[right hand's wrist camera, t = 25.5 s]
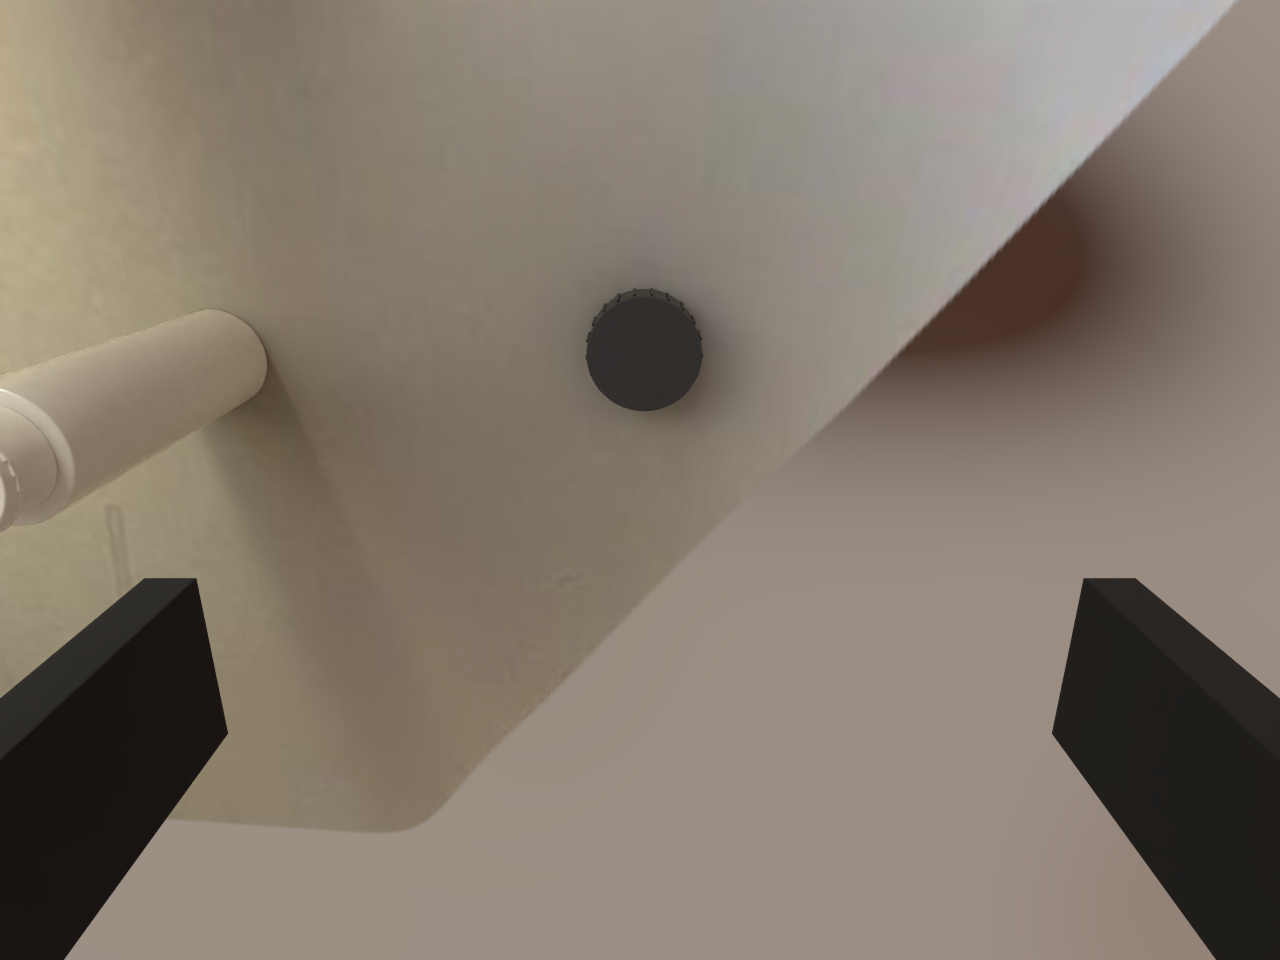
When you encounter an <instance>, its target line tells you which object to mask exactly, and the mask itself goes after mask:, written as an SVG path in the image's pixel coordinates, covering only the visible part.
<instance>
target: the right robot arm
mask: <svg viewBox="0 0 1280 960" xmlns="http://www.w3.org/2000/svg"><path fill="white" fill-rule="evenodd" d="M227 734H228V731H227V726H226V721H225V716H224V711H223V707H222V702H221V697H220V692H219V687H218V682H217V677H216V672H215V667H214V662H213V658H212V653H211V648H210V643H209V638H208V633H207V628H206V623H205V618H204V614H203V609H202V604H201V599H200V594H199V589H198V584H197V579H196V578H144V579H143V580H142V581H141V582H140V583H138V584H137V585H136V586H135V587H134V588H132V589H131V590H130V591H129V592H128V593H126V594H125V595H124V596H123V597H122V598H120V599H119V600H118V601H117V602H116V603H114V604H113V605H112V606H111V607H110V608H108V609H107V610H106V611H105V612H104V613H102V614H101V615H100V616H99V617H98V618H96V619H95V620H94V621H93V622H91V623H90V624H89V625H88V626H87V627H85V628H84V629H83V630H82V631H81V632H79V633H78V634H77V635H76V636H75V637H73V638H72V639H71V640H70V641H69V642H67V643H66V644H65V645H64V646H63V647H61V648H60V649H59V650H58V651H57V652H55V653H54V654H53V655H52V656H51V657H49V658H48V659H47V660H46V661H45V662H43V663H42V664H41V665H40V666H39V667H37V668H36V669H35V670H34V671H33V672H31V673H30V674H29V675H28V676H27V677H25V678H24V679H23V680H22V681H21V682H19V683H18V684H17V685H16V686H15V687H13V688H12V689H11V690H10V691H9V692H7V693H6V694H5V695H4V696H3V697H1V698H0V960H64V959H65V957H66V956H67V955H68V953H69V952H70V951H71V949H72V948H73V946H74V945H75V944H76V942H77V941H78V940H79V938H80V937H81V935H82V934H83V933H84V931H85V930H86V928H87V927H88V926H89V924H90V923H91V922H92V920H93V919H94V917H95V916H96V915H97V913H98V912H99V911H100V909H101V908H102V906H103V905H104V904H105V902H106V901H107V900H108V898H109V897H110V895H111V894H112V893H113V891H114V890H115V889H116V887H117V886H118V884H119V883H120V882H121V880H122V879H123V878H124V876H125V875H126V873H127V872H128V871H129V869H130V868H131V867H132V865H133V864H134V862H135V861H136V860H137V858H138V857H139V856H140V854H141V853H142V851H143V850H144V849H145V847H146V846H147V844H148V843H149V842H150V840H151V839H152V838H153V836H154V835H155V833H156V832H157V831H158V829H159V828H160V827H161V825H162V824H163V822H164V821H165V820H166V818H167V817H168V816H169V814H170V813H171V811H172V810H173V809H174V807H175V806H176V805H177V803H178V802H179V800H180V799H181V798H182V796H183V795H184V794H185V792H186V791H187V789H188V788H189V787H190V785H191V784H192V782H193V781H194V780H195V778H196V777H197V776H198V774H199V773H200V771H201V770H202V769H203V767H204V766H205V765H206V763H207V762H208V760H209V759H210V758H211V756H212V755H213V754H214V752H215V751H216V749H217V748H218V747H219V745H220V744H221V743H222V741H223V740H224V738H225V737H226V736H227ZM1052 734H1053V736H1054V737H1055V738H1056V740H1057V741H1058V742H1059V744H1060V745H1061V747H1062V748H1063V749H1064V751H1065V752H1066V753H1067V755H1068V756H1069V758H1070V759H1071V760H1072V762H1073V763H1074V765H1075V766H1076V767H1077V769H1078V770H1079V771H1080V773H1081V774H1082V776H1083V777H1084V778H1085V780H1086V781H1087V782H1088V784H1089V785H1090V787H1091V788H1092V789H1093V791H1094V792H1095V794H1096V795H1097V796H1098V798H1099V799H1100V800H1101V802H1102V803H1103V805H1104V806H1105V807H1106V809H1107V810H1108V811H1109V813H1110V814H1111V816H1112V817H1113V818H1114V820H1115V821H1116V822H1117V824H1118V825H1119V827H1120V828H1121V829H1122V831H1123V832H1124V833H1125V835H1126V836H1127V838H1128V839H1129V840H1130V842H1131V843H1132V844H1133V846H1134V847H1135V849H1136V850H1137V851H1138V853H1139V854H1140V856H1141V857H1142V858H1143V860H1144V861H1145V862H1146V864H1147V865H1148V866H1149V868H1150V869H1151V871H1152V872H1153V873H1154V875H1155V876H1156V878H1157V879H1158V880H1159V882H1160V883H1161V884H1162V886H1163V887H1164V889H1165V890H1166V891H1167V893H1168V894H1169V895H1170V897H1171V898H1172V900H1173V901H1174V902H1175V904H1176V905H1177V907H1178V908H1179V909H1180V911H1181V912H1182V913H1183V915H1184V916H1185V918H1186V919H1187V920H1188V922H1189V923H1190V924H1191V926H1192V927H1193V929H1194V930H1195V931H1196V933H1197V934H1198V935H1199V937H1200V938H1201V940H1202V941H1203V942H1204V944H1205V945H1206V946H1207V948H1208V949H1209V951H1210V952H1211V953H1212V955H1213V956H1214V957H1215V959H1216V960H1280V698H1279V697H1277V696H1276V695H1275V694H1274V693H1272V692H1271V691H1270V690H1269V689H1268V688H1267V687H1265V686H1264V685H1263V684H1262V683H1261V682H1259V681H1258V680H1257V679H1256V678H1254V677H1253V676H1252V675H1251V674H1250V673H1249V672H1247V671H1246V670H1245V669H1244V668H1243V667H1241V666H1240V665H1239V664H1238V663H1237V662H1235V661H1234V660H1233V659H1232V658H1231V657H1229V656H1228V655H1227V654H1226V653H1225V652H1223V651H1222V650H1221V649H1220V648H1218V647H1217V646H1216V645H1215V644H1214V643H1213V642H1211V641H1210V640H1209V639H1208V638H1206V637H1205V636H1204V635H1203V634H1202V633H1200V632H1199V631H1198V630H1197V629H1196V628H1195V627H1193V626H1192V625H1191V624H1190V623H1188V622H1187V621H1186V620H1185V619H1184V618H1182V617H1181V616H1180V615H1179V614H1178V613H1176V612H1175V611H1174V610H1173V609H1172V608H1170V607H1169V606H1168V605H1167V604H1166V603H1164V602H1163V601H1162V600H1161V599H1160V598H1158V597H1157V596H1156V595H1155V594H1154V593H1152V592H1151V591H1150V590H1149V589H1148V588H1146V587H1145V586H1144V585H1143V584H1142V583H1140V582H1139V581H1138V580H1137V579H1136V578H1084V579H1083V584H1082V589H1081V594H1080V599H1079V604H1078V609H1077V614H1076V618H1075V623H1074V628H1073V633H1072V638H1071V643H1070V648H1069V653H1068V658H1067V663H1066V667H1065V672H1064V677H1063V682H1062V687H1061V692H1060V697H1059V702H1058V707H1057V711H1056V716H1055V721H1054V726H1053V731H1052Z"/></svg>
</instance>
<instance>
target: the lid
mask: <svg viewBox="0 0 1280 960" xmlns="http://www.w3.org/2000/svg"><path fill="white" fill-rule="evenodd" d="M695 324H696V323H695V320H694V317H693V315H690V314H689V312H688V311H687V310H686V309H685V307H684V305H683V303H682V302H678V301H677V300H676V299H674V298H673V297H671V296H670V295H669V293H666V294H665V293H662V292H659V291H655V290H653V288H650V290H647V289H641V290H636V288H634V289H633V291H629V292H626V293H623V294H621V295H620V294H617V297H615V298H614V299H612V300H611V301H610V302H609V303H608V304H606V303H605V304H604V306H603V309H602V310H601V311H600V313H599V314H598V316H597V317H594V320H593V323H592V326H593V327H592V330H591V332H589V334H588V337H587V341H586V342H587V343H588V345H587V355H586V360H587V363H588V368H589V371H590V375H591V377H592V379H593V381H594V383H595V384H596V386H597V387H598V389H599V390H600V391H601V392H602V393H603V394H604V395H605V396H606V397H607V398H608V399H610V400H611V401H613V402H614V403H616V404H618V405H620V406H622V407H625V408H628V409H632V410H637V411H652V410H657V409H661V408H664V407H666V406H669V405H671V404H673V403H674V402H676V401H677V400H679V399H680V398H681V397H682V396H684V395H685V394H686V393H687V391H688V390H689V389H690V388H691V386H692V385H693V384H694V382H695V380H696V378H697V375H698V374H699V370H700V366H701V359H702V357H703V354H702V348H701V342H700V341H701V340H702V338H701V335H700V333H699V330H697V329H696V326H695Z"/></svg>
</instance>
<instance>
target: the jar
mask: <svg viewBox="0 0 1280 960" xmlns="http://www.w3.org/2000/svg"><path fill="white" fill-rule="evenodd" d="M266 374H267V358H266V353H265V350H264V347H263V345H262V343H261V341H260V339H259V337H258V336H257V335H256V333H255V332H254V331H253V330H252V329H251V327H250V326H249V325H247V324H246V323H245V322H244V321H242V320H241V319H239V318H238V317H236V316H234V315H232V314H230V313H227V312H224V311H220V310H214V309H204V310H198V311H195V312H192V313H188V314H185V315H182V316H179V317H176V318H173V319H170V320H167V321H164V322H161V323H158V324H155V325H152V326H149V327H146V328H143V329H140V330H136V331H133V332H130V333H127V334H124V335H121V336H118V337H115V338H112V339H109V340H106V341H103V342H100V343H97V344H94V345H91V346H88V347H85V348H81V349H78V350H75V351H72V352H69V353H66V354H63V355H60V356H57V357H54V358H51V359H48V360H45V361H42V362H39V363H36V364H33V365H29V366H26V367H23V368H20V369H17V370H14V371H11V372H8V373H5V374H2V375H0V532H2V531H4V530H5V529H7V528H9V527H10V526H25V525H33V524H37V523H41V522H43V521H46V520H48V519H50V518H52V517H53V516H55V515H57V514H58V513H60V512H62V511H63V510H65V509H67V508H69V507H70V506H72V505H74V504H75V503H77V502H79V501H80V500H82V499H84V498H85V497H87V496H89V495H90V494H92V493H94V492H95V491H97V490H99V489H100V488H102V487H104V486H105V485H107V484H109V483H110V482H112V481H114V480H115V479H117V478H119V477H120V476H122V475H124V474H125V473H127V472H129V471H130V470H132V469H134V468H135V467H137V466H139V465H140V464H142V463H144V462H145V461H147V460H149V459H150V458H152V457H154V456H155V455H157V454H159V453H161V452H162V451H164V450H166V449H167V448H169V447H171V446H172V445H174V444H176V443H177V442H179V441H181V440H182V439H184V438H186V437H187V436H189V435H191V434H192V433H194V432H196V431H197V430H199V429H201V428H202V427H204V426H206V425H207V424H209V423H211V422H212V421H214V420H216V419H217V418H219V417H221V416H222V415H224V414H226V413H227V412H229V411H231V410H232V409H234V408H236V407H237V406H239V405H241V404H242V403H244V402H246V401H247V400H249V399H251V398H252V397H253V396H254V395H256V394H257V392H258V391H259V390H260V388H261V387H262V385H263V383H264V381H265V378H266Z"/></svg>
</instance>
